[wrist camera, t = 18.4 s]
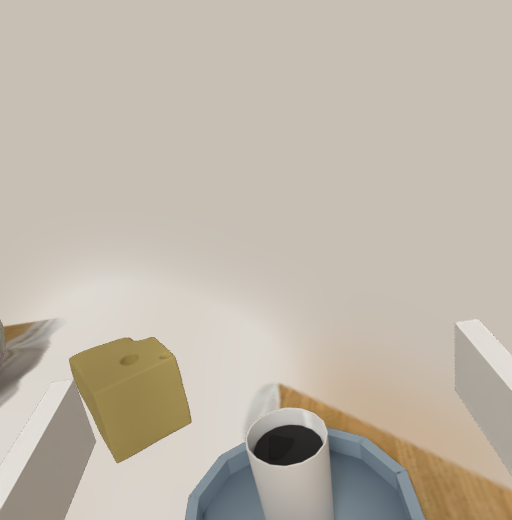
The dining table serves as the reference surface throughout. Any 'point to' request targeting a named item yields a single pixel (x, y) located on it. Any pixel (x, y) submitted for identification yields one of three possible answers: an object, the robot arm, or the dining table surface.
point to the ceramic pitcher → (2, 342)
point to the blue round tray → (342, 477)
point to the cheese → (131, 393)
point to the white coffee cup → (291, 465)
